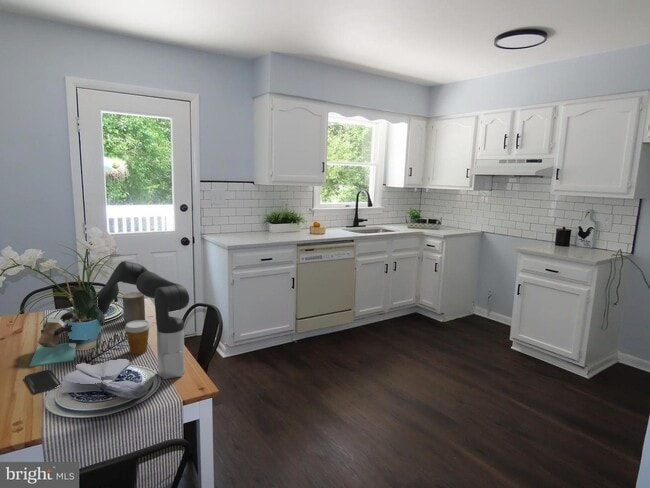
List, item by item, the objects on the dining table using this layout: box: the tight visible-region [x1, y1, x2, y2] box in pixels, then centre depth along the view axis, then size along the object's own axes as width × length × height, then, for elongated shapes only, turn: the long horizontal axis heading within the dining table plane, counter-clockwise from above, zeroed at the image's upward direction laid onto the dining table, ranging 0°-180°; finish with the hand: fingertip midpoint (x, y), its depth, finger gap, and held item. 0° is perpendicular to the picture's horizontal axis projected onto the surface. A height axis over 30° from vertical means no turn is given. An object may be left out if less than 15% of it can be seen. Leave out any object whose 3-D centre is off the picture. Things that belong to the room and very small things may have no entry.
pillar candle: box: [122, 291, 146, 325], centre depth 202 cm, size 10×10×15 cm
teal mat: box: [29, 342, 77, 368], centre depth 165 cm, size 18×14×1 cm
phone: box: [24, 369, 62, 395], centre depth 143 cm, size 8×1×15 cm
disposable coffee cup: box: [124, 319, 151, 356], centre depth 169 cm, size 10×10×12 cm
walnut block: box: [37, 318, 65, 348], centre depth 162 cm, size 4×4×10 cm
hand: (48, 333), depth 160 cm, fingers closed on walnut block, 4 cm apart
